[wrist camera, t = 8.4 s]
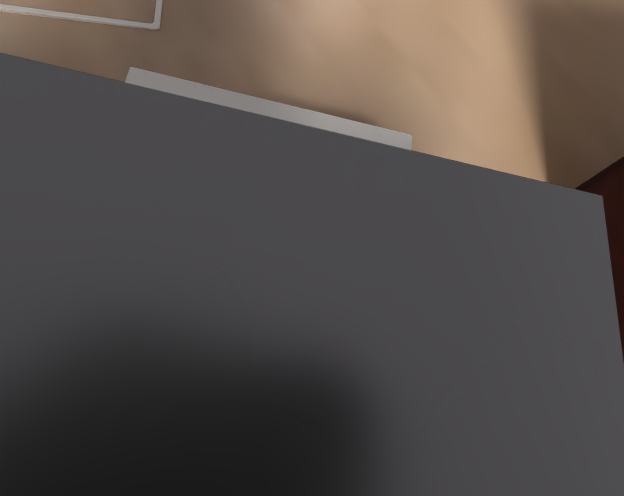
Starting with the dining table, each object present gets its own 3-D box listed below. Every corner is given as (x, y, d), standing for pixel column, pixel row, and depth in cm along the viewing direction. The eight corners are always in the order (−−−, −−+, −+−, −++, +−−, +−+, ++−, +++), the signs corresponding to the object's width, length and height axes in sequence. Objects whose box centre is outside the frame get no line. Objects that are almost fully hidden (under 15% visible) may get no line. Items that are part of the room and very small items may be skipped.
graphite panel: (286, 477, 14) (667, 707, 2) (117, 455, 14) (-527, 624, 2) (299, 377, 15) (601, 195, 4) (145, 351, 15) (-125, 23, 3)
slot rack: (323, 854, 13) (361, 996, 10) (-187, 844, 11) (-349, 1013, 8) (381, 179, 21) (412, 135, 18) (94, 114, 19) (70, 52, 16)
